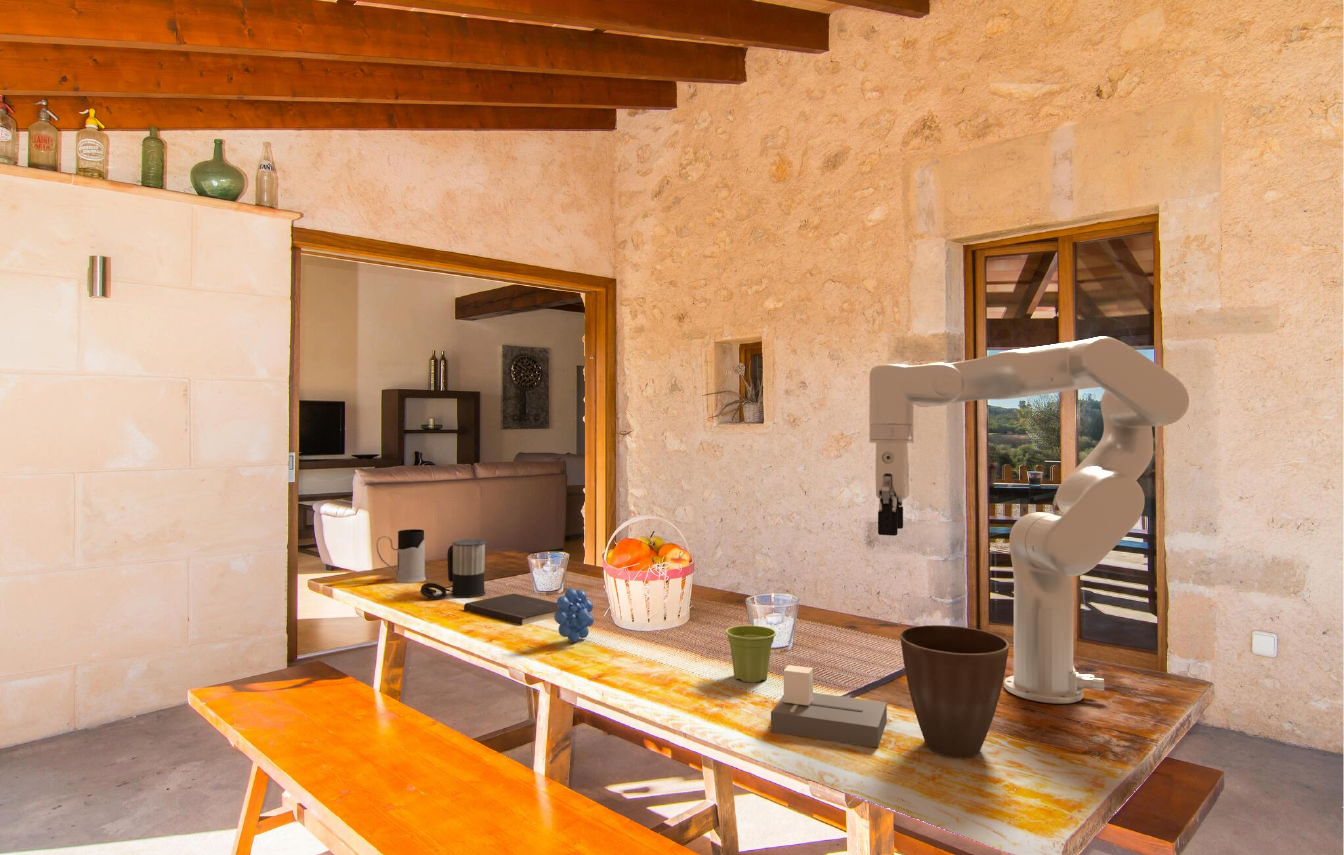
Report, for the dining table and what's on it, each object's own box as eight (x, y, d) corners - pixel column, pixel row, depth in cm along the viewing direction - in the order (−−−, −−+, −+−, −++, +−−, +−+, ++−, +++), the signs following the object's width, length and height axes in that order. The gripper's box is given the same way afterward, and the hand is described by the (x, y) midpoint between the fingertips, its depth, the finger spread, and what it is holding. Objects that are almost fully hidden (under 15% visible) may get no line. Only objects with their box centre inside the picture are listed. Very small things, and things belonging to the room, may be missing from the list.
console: (886, 721, 123) (886, 701, 123) (878, 747, 112) (878, 726, 112) (787, 707, 129) (787, 688, 129) (770, 731, 118) (770, 711, 118)
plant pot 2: (1029, 768, 106) (1030, 651, 106) (924, 772, 104) (924, 654, 104) (977, 726, 121) (978, 624, 121) (884, 729, 119) (885, 625, 119)
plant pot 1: (724, 669, 149) (724, 624, 149) (773, 670, 148) (773, 624, 148) (726, 685, 139) (726, 637, 139) (778, 686, 139) (778, 638, 139)
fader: (812, 699, 123) (812, 667, 123) (808, 705, 120) (809, 673, 120) (788, 695, 124) (788, 664, 124) (783, 702, 122) (783, 670, 122)
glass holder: (426, 582, 232) (426, 532, 232) (375, 585, 227) (375, 534, 227) (426, 576, 240) (426, 528, 240) (377, 579, 235) (377, 530, 235)
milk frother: (492, 593, 217) (492, 540, 217) (454, 604, 203) (454, 548, 203) (453, 588, 223) (453, 537, 223) (413, 599, 209) (413, 544, 209)
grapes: (570, 651, 160) (570, 594, 160) (547, 646, 164) (547, 589, 164) (607, 639, 169) (607, 584, 169) (584, 634, 173) (584, 581, 173)
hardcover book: (513, 601, 208) (513, 593, 208) (572, 615, 194) (572, 606, 194) (463, 612, 196) (463, 603, 196) (521, 627, 181) (521, 617, 181)
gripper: (908, 435, 127) (908, 539, 127) (917, 434, 143) (917, 526, 143) (862, 434, 130) (862, 536, 130) (875, 434, 146) (875, 524, 146)
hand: (890, 531), depth 136 cm, fingers open, 9 cm apart
